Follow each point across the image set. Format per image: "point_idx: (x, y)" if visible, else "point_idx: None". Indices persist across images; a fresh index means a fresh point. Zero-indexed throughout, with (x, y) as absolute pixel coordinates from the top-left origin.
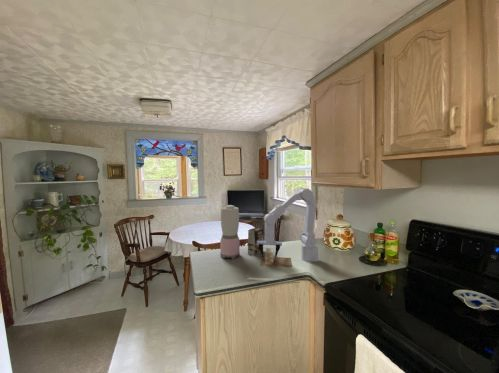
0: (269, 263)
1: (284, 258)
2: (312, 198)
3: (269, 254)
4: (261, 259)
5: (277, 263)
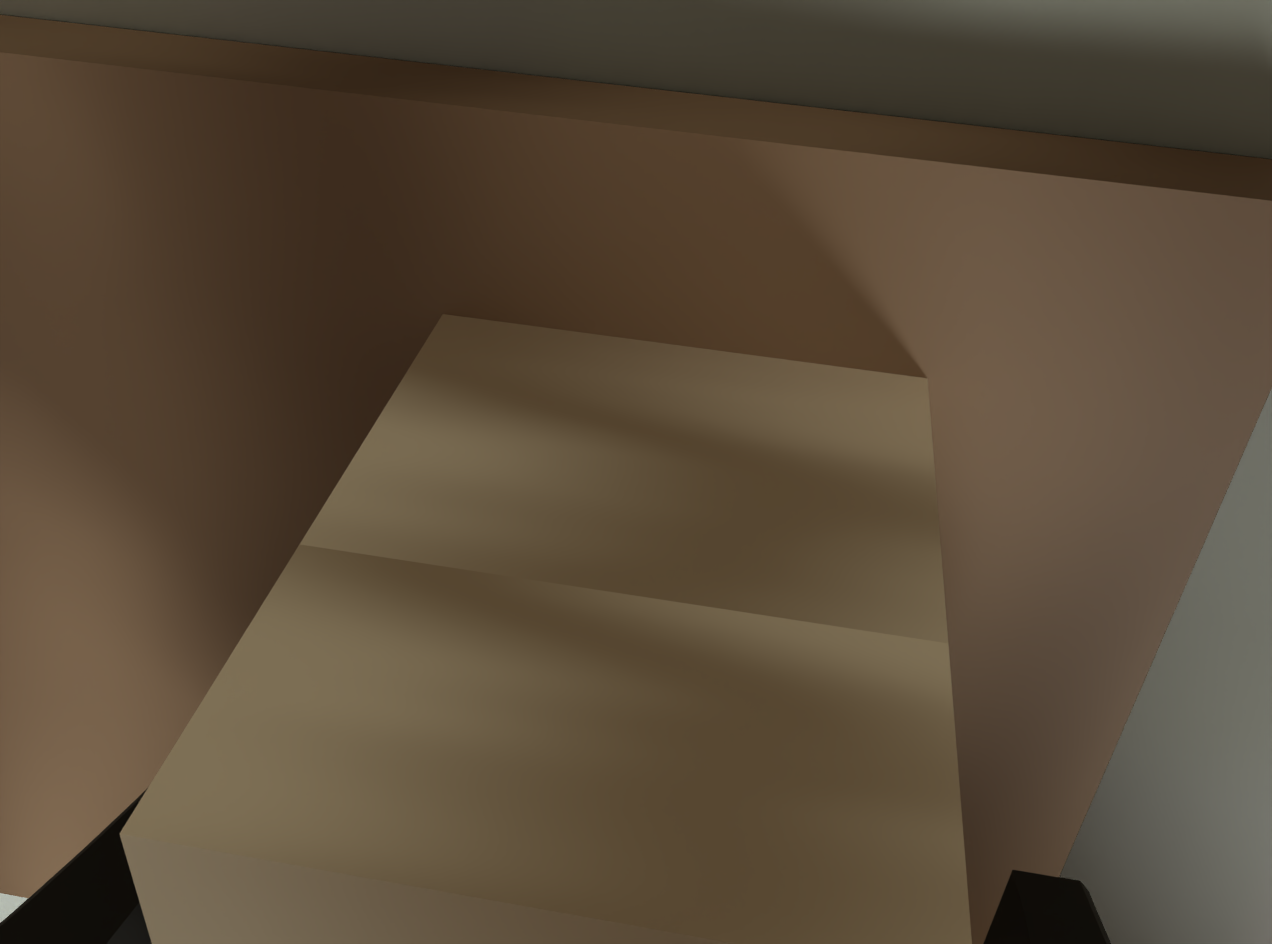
0: (657, 372)
1: (5, 834)
2: None
3: (528, 870)
4: (1028, 864)
5: (222, 439)
